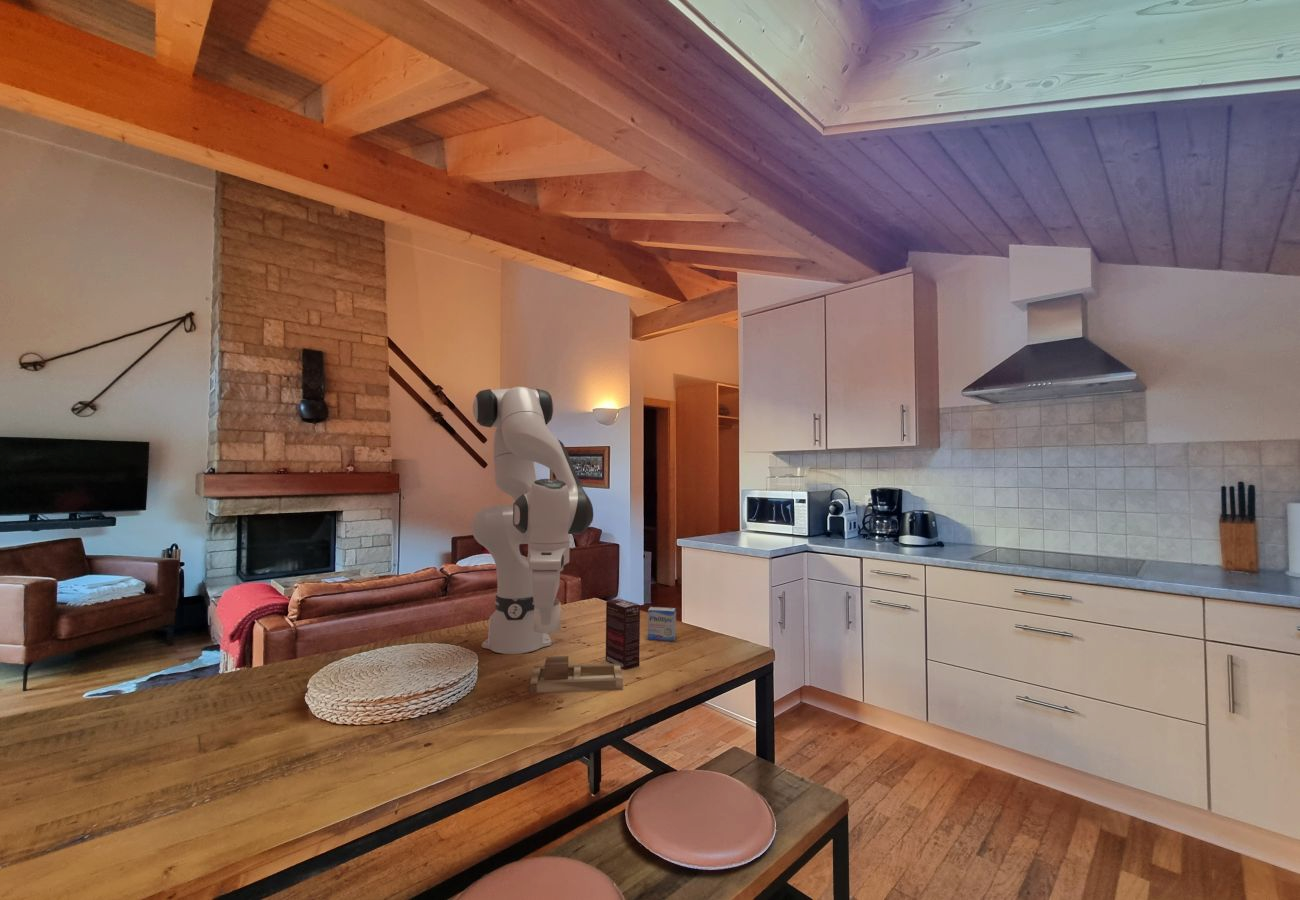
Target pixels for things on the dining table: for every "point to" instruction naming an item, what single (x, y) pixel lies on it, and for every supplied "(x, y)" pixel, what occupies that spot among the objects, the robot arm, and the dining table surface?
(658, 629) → the medicine box
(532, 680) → the organizer
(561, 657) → the walnut block
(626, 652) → the supplement box
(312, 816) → the dining table surface
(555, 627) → the cream ceramic jar
